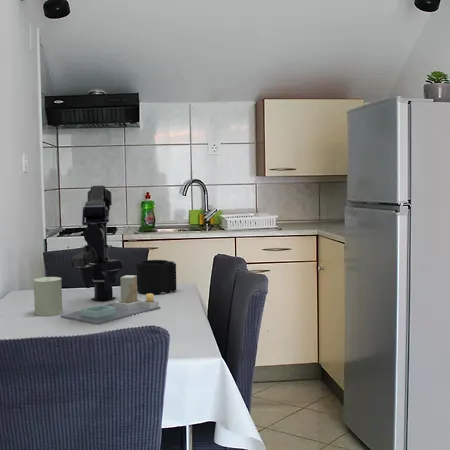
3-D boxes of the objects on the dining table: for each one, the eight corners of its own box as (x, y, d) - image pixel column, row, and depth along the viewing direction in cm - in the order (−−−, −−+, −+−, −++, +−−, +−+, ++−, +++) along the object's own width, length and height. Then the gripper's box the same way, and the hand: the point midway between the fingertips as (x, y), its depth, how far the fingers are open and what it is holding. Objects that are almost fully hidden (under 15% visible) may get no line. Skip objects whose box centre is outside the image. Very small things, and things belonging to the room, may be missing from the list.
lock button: (145, 302, 209) (144, 294, 209) (149, 301, 211) (149, 293, 211) (150, 303, 208) (149, 294, 208) (154, 302, 210) (154, 293, 209)
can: (37, 317, 200) (35, 280, 199) (32, 311, 208) (30, 276, 207) (65, 314, 204) (64, 278, 203) (59, 308, 212) (58, 274, 211)
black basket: (154, 287, 252) (153, 258, 251) (182, 290, 243) (181, 261, 242) (129, 292, 240) (128, 262, 239) (158, 296, 231) (157, 265, 230)
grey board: (60, 317, 199) (60, 309, 198) (124, 302, 221) (123, 295, 221) (97, 324, 188) (97, 316, 188) (160, 308, 210) (160, 301, 210)
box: (132, 309, 208) (131, 277, 207) (120, 309, 209) (119, 277, 208) (137, 306, 213) (137, 275, 212) (126, 306, 214) (125, 274, 213)
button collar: (141, 307, 209) (141, 301, 209) (149, 305, 212) (149, 299, 212) (150, 309, 207) (150, 303, 206) (158, 306, 210) (158, 301, 210)
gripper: (57, 242, 197) (59, 290, 198) (96, 245, 186) (97, 296, 187) (84, 239, 206) (86, 285, 207) (123, 242, 194) (124, 291, 196)
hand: (97, 289), depth 199 cm, fingers open, 9 cm apart
